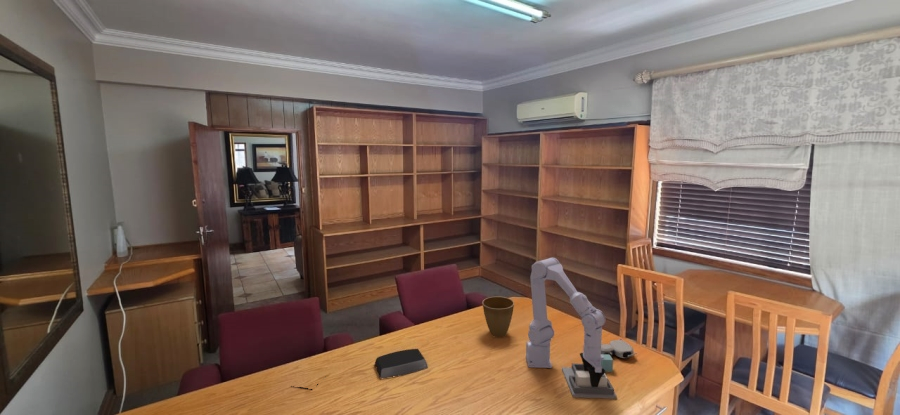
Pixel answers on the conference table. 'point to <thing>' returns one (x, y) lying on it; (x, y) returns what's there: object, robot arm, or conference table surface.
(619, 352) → the robot toy
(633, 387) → the conference table surface
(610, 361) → the teal block
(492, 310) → the plant pot
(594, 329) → the robot arm
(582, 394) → the jig
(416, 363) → the external hard drive
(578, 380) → the beige rectangular block
